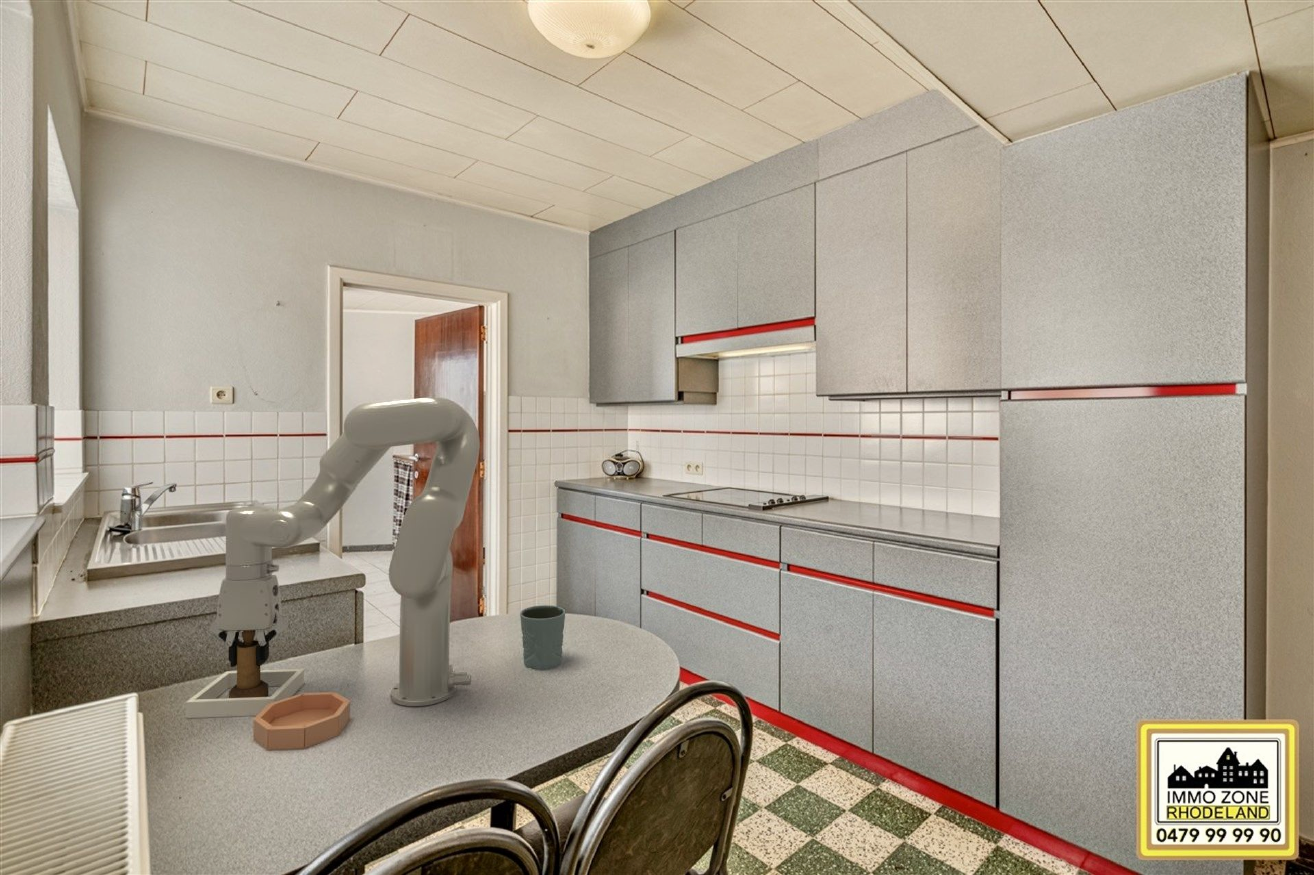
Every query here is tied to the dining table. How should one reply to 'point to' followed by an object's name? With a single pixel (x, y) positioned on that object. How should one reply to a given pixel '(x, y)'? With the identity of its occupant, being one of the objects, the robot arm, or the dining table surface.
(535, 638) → the drinking glass
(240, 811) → the dining table surface
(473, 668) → the dining table surface
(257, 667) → the dark brown knobbed post
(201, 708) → the open rectangular frame
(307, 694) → the terracotta bowl
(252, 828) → the dining table surface
